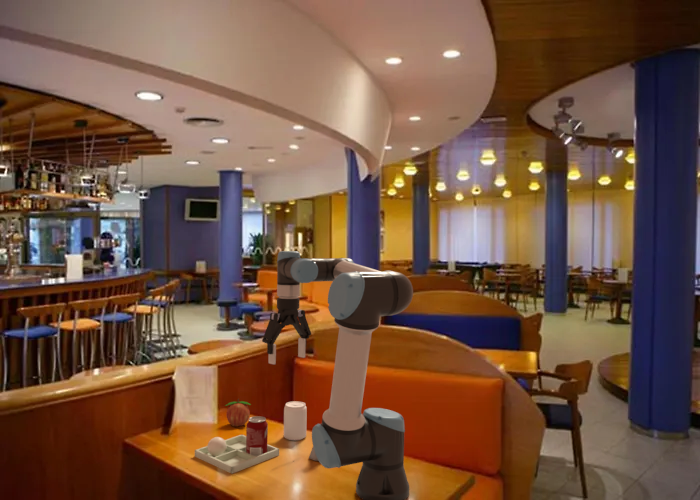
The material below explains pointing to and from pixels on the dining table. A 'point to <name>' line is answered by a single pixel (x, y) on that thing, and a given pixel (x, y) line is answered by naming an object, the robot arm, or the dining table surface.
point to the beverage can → (295, 420)
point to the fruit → (238, 413)
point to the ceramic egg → (216, 446)
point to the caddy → (235, 455)
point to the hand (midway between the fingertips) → (287, 360)
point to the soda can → (256, 436)
